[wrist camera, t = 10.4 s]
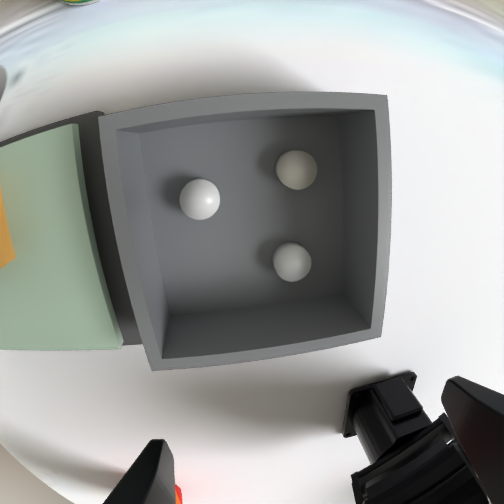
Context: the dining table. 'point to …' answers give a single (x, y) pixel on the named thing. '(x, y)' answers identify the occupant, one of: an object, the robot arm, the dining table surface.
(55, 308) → the lid
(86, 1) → the supplement bottle
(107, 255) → the mat
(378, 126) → the tub
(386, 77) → the dining table surface
